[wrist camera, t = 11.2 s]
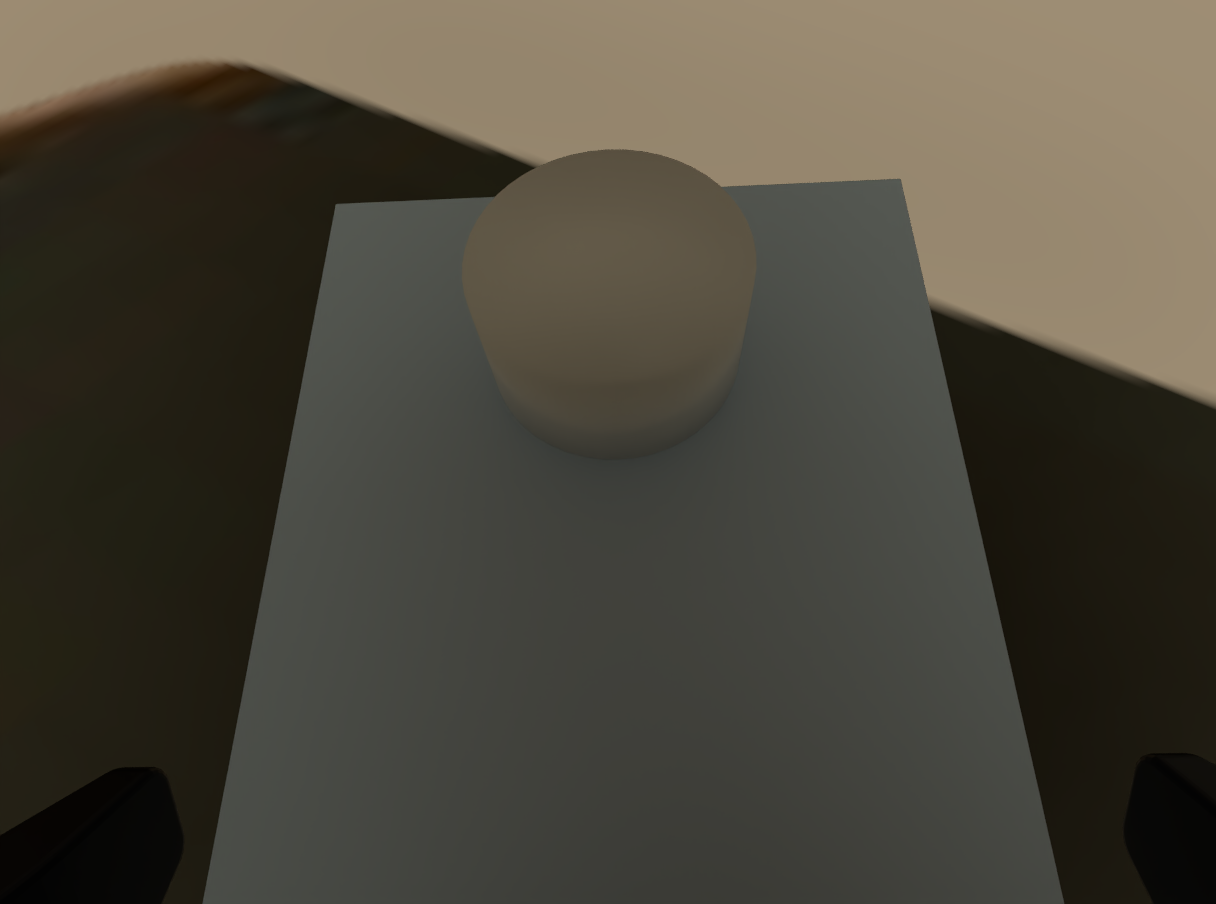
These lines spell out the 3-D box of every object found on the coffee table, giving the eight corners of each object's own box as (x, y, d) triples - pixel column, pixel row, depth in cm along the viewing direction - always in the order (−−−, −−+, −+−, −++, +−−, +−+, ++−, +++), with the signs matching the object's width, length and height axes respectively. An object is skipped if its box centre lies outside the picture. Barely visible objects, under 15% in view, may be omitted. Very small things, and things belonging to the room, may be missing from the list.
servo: (785, 1008, 13) (1524, 2124, 2) (513, 1007, 13) (-188, 2000, 2) (741, 499, 17) (903, -75, 6) (533, 504, 17) (318, -41, 6)
